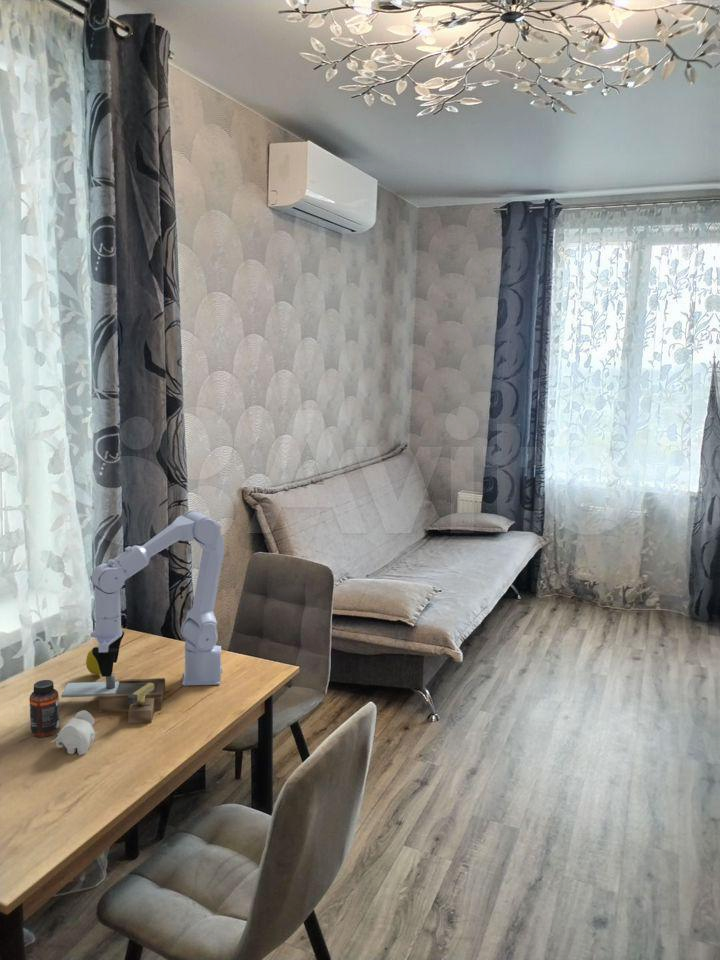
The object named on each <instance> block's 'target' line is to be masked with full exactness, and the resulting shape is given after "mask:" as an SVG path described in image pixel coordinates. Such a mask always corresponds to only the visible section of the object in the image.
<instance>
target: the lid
mask: <svg viewBox="0 0 720 960" xmlns="http://www.w3.org/2000/svg"><path fill="white" fill-rule="evenodd" d="M115 677H116V674H115V673H113V672H112V675H111V676H108V677H105V681H93V682H89V681H88V682H86V681H85V682H68V683H67V684H66V686H65V688H64V690H63V691H62V693H61V698H88V697H100V695H113V694H116V691H117V688H118V686H119V681H117V682H115V680H116V678H115Z"/></svg>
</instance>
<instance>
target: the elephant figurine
mask: <svg viewBox="0 0 720 960" xmlns="http://www.w3.org/2000/svg"><path fill="white" fill-rule="evenodd" d="M94 724H95V718H94V717H93V715H92V714H91V713H90V712H88V711H87V710H80V711H78V712H77V713H76V714H75V716H74V717H73V718H70V719H69V720H67V722H66V723H65V725H63V727H61V729H59V732H57V733H56V736H57V737H55V738H54V739H53V740H51V741H50V742H49V744H51V743H54V742H55V744H56V747H57V748H58V749H61V748H63V747H64V746H65V748H66V752H67V754H69V755H74V754H75V753H76V752H77V754H78V755H79V756H82V755H85V754H86V753H87V752H88V751H89V748H90V747H92V745H93V743H94V741H95V737H96V734H98V731H96V732H95V730H94V727H93V725H94Z"/></svg>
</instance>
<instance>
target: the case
mask: <svg viewBox="0 0 720 960" xmlns="http://www.w3.org/2000/svg"><path fill="white" fill-rule="evenodd" d="M117 681H119V686H118V688H117V691H116V694H113V695H100V696H99V699H98V701H99V702H98V705H99V706H98V707H99V710H98V711H99V713H106V712H107V713H108V712H128V724H142V723H143V724H145V723H146V724H147V723H152V722H153V717H154V714H155V711H161V710H162V706H163V702H164V697H165V693H166V679H165V677H163V678H130V679H115V682H117ZM148 683H153V684H154V690H153V691H151V692H150V693H148V694H147V695H145V705H144V706H138V701H137V702H136V703H134V704H129V703H127V697H128V696H129V695H131V694H133V693H134V692H136V691H137V690H139V689H140V688H142V687H143V686H145V685H146V684H148Z"/></svg>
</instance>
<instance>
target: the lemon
mask: <svg viewBox="0 0 720 960" xmlns="http://www.w3.org/2000/svg"><path fill="white" fill-rule="evenodd" d="M96 647H98V646H96ZM85 660H86V661H85V666H86V669H87V671H89V673H90V674H93V675H95V676H97V677H99V676H100V675H101V672H100V669H99V665H98V662H97V660H96V658H95V657H94V655H93V654H92V649H90V651H88V653H87V655H86V659H85Z"/></svg>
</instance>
